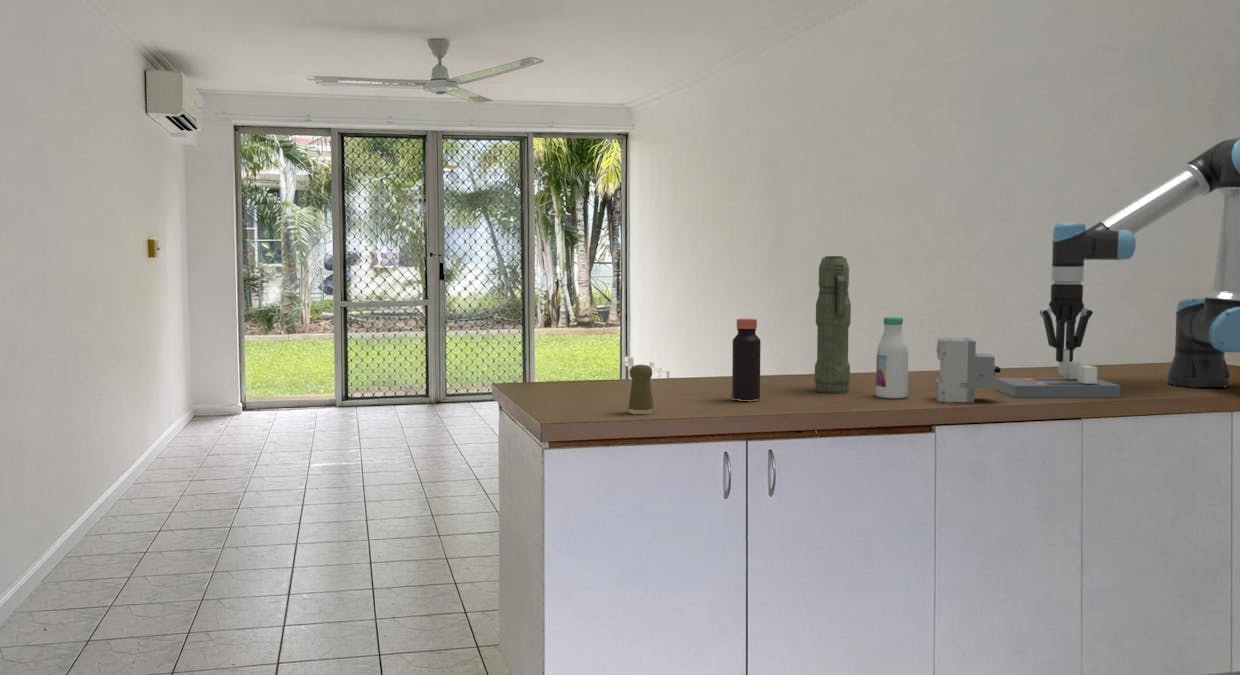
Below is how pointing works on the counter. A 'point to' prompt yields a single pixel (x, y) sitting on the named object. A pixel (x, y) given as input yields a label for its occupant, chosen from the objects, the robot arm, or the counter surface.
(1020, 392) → the panel
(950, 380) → the circuit breaker
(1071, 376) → the light grey block
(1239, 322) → the robot arm
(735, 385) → the vinegar
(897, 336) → the milk bottle
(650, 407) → the olive green shaker
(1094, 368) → the white block
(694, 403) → the counter surface
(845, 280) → the thermos
